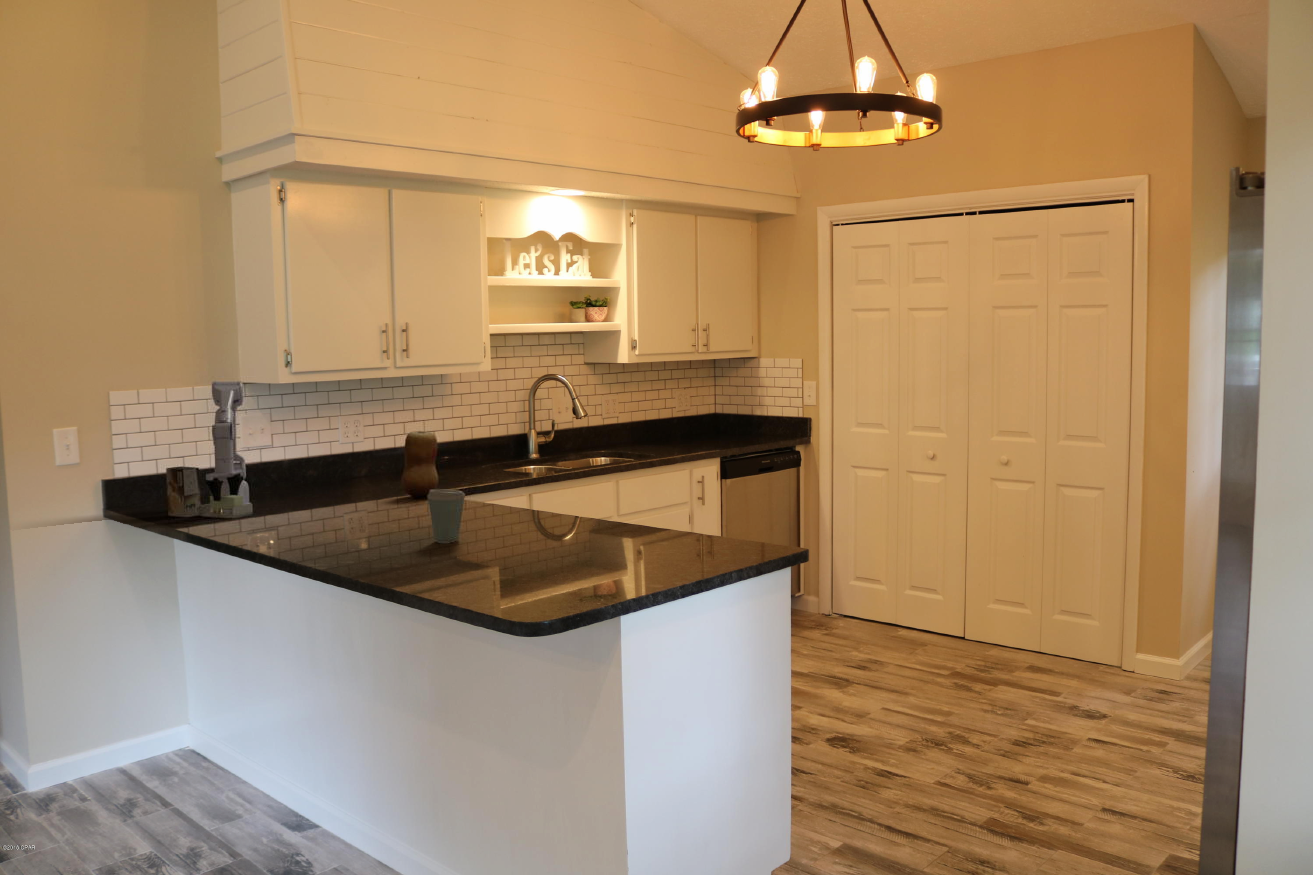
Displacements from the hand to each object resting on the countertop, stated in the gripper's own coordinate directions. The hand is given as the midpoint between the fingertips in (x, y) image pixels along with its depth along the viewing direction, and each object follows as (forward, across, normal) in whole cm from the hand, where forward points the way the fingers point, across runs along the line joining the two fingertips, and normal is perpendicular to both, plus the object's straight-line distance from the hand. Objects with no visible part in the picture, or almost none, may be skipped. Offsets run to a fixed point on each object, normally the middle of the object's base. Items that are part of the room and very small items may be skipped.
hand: (225, 499), depth 336 cm
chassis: (+5, 0, 0) cm, 5 cm away
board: (+3, 0, 0) cm, 3 cm away
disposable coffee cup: (+5, -18, -95) cm, 97 cm away
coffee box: (+6, -5, +13) cm, 15 cm away
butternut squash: (+6, +58, -38) cm, 69 cm away
